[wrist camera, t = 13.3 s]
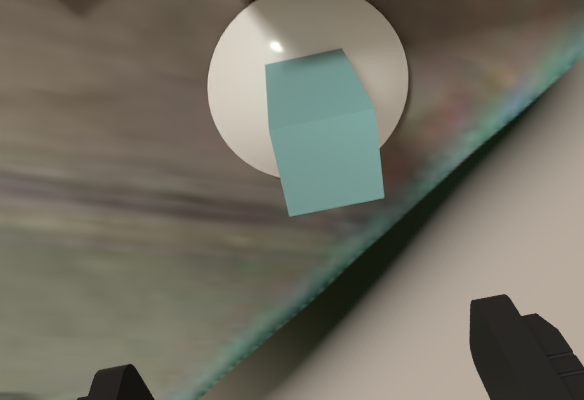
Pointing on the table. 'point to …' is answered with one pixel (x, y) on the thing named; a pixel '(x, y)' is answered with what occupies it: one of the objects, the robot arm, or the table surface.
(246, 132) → the ceramic coaster
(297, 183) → the teal block
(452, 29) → the table surface
